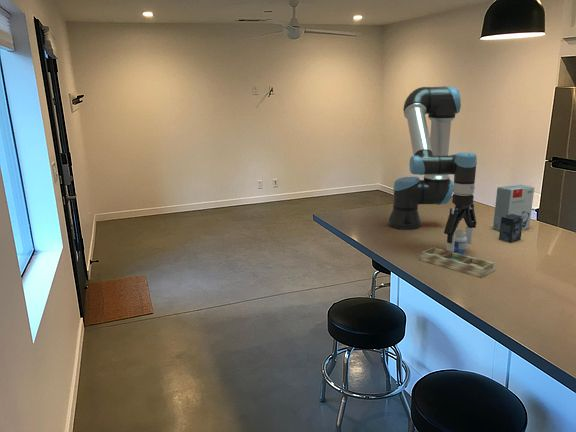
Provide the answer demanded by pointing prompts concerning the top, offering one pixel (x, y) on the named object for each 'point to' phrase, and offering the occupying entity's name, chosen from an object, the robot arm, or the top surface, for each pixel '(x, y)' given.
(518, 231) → the box
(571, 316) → the top surface
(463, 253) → the pill bottle
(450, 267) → the three-compartment tray
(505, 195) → the hard drive box
